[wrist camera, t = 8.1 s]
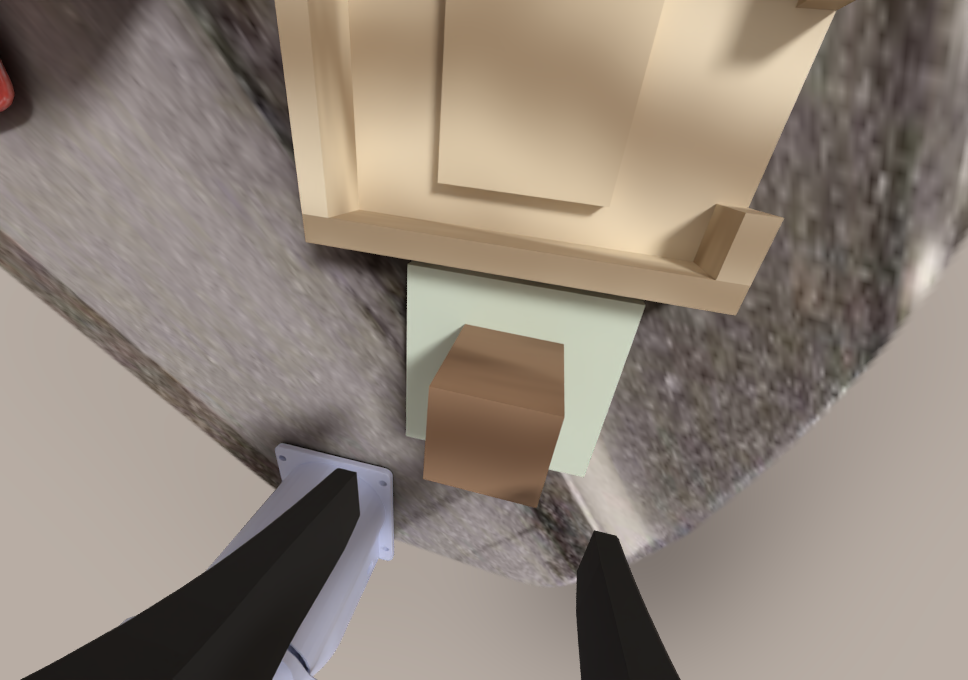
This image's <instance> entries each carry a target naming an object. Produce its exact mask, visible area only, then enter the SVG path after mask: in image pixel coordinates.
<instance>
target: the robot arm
mask: <svg viewBox="0 0 968 680" xmlns="http://www.w3.org/2000/svg"><path fill="white" fill-rule="evenodd" d="M275 453H276V458H277V462H278V466H279V470H280V474H281V479H282V483H281V484H280V485H279V486H278V487H277V489H276V490H275V491H274V492H273V493H272V494H271V496H270V497H269V498H268V499H267V500H266V501H265V503H264V504H263V505H262V506H261V507H260V509H259V510H258V511H257V512H256V513H255V514H254V516H253V517H252V518H251V519H250V520H249V521H248V522H247V524H246V525H245V526H244V527H243V528H242V529H241V531H240V532H239V533H238V534H237V535H236V536H235V538H234V539H233V540H232V541H231V542H230V543H229V545H228V546H227V547H226V548H225V549H224V550H223V552H222V553H221V554H220V555H219V556H218V557H217V559H216V560H215V561H214V562H213V564H211V566H210V567H209V568H208V569H207V570H206V571H205V572H204V573H202V574H201V575H200V576H198V577H196V578H195V579H193V580H192V581H190V582H189V583H187V584H186V585H184V586H183V587H182V588H180V589H178V590H177V591H175V592H174V593H172V594H170V595H169V596H167V597H166V598H164V599H162V600H161V601H159V602H158V603H156V604H154V605H153V606H151V607H150V608H148V609H146V610H145V611H143V612H141V613H140V614H138V615H136V616H134V617H130V618H128V619H126V620H125V621H123V622H122V623H121V624H120V625H119V626H118V627H116V628H114V629H113V630H111V631H109V632H107V633H105V634H104V635H102V636H100V637H98V638H97V639H95V640H93V641H91V642H90V643H88V644H86V645H84V646H82V647H80V648H79V649H77V650H75V651H73V652H72V653H70V654H68V655H66V656H64V657H63V658H61V659H59V660H57V661H55V662H54V663H52V664H50V665H48V666H46V667H44V668H42V669H40V670H38V671H36V672H35V673H32V674H30V675H29V676H27V677H25V678H23V679H21V680H316V679H315V678H314V677H313V676H314V675H315V674H316V673H317V672H318V671H319V670H320V669H321V668H322V667H323V666H324V665H325V664H326V663H327V662H328V660H329V659H330V658H331V657H332V655H333V654H334V652H335V651H336V649H337V647H338V646H339V643H340V642H341V640H342V637H343V635H344V633H345V631H346V629H347V626H348V624H349V622H350V620H351V618H352V615H353V613H354V611H355V609H356V607H357V604H358V602H359V600H360V598H361V596H362V593H363V591H364V589H365V587H366V585H367V582H368V580H369V578H370V576H371V574H372V571H373V569H374V567H375V565H376V563H377V561H378V558H379V559H383V560H387V561H389V560H392V558H393V556H394V519H393V475H392V472H391V471H390V470H388V469H386V468H382V467H378V466H374V465H370V464H366V463H362V462H358V461H354V460H350V459H346V458H342V457H338V456H333V455H329V454H325V453H321V452H317V451H313V450H309V449H305V448H301V447H297V446H293V445H289V444H285V443H280V444H279V445H278V446H277V447H276V448H275ZM576 617H577V631H578V644H579V657H580V669H581V680H680V678H679V676H678V674H677V672H676V670H675V668H674V666H673V664H672V662H671V660H670V658H669V656H668V654H667V651H666V650H665V647H664V645H663V643H662V641H661V639H660V637H659V634H658V632H657V630H656V628H655V626H654V623H653V621H652V619H651V617H650V615H649V613H648V611H647V608H646V606H645V604H644V601H643V599H642V597H641V594H640V592H639V589H638V587H637V585H636V582H635V580H634V577H633V575H632V573H631V570H630V568H629V565H628V562H627V560H626V557H625V555H624V552H623V549H622V547H621V544H620V541H619V539H618V538H617V536H615V535H611V534H607V533H603V532H599V531H595V530H594V532H593V534H592V537H591V539H590V542H589V544H588V546H587V549H586V551H585V554H584V556H583V558H582V561H581V563H580V565H579V568H578V570H577V593H576Z"/></svg>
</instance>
